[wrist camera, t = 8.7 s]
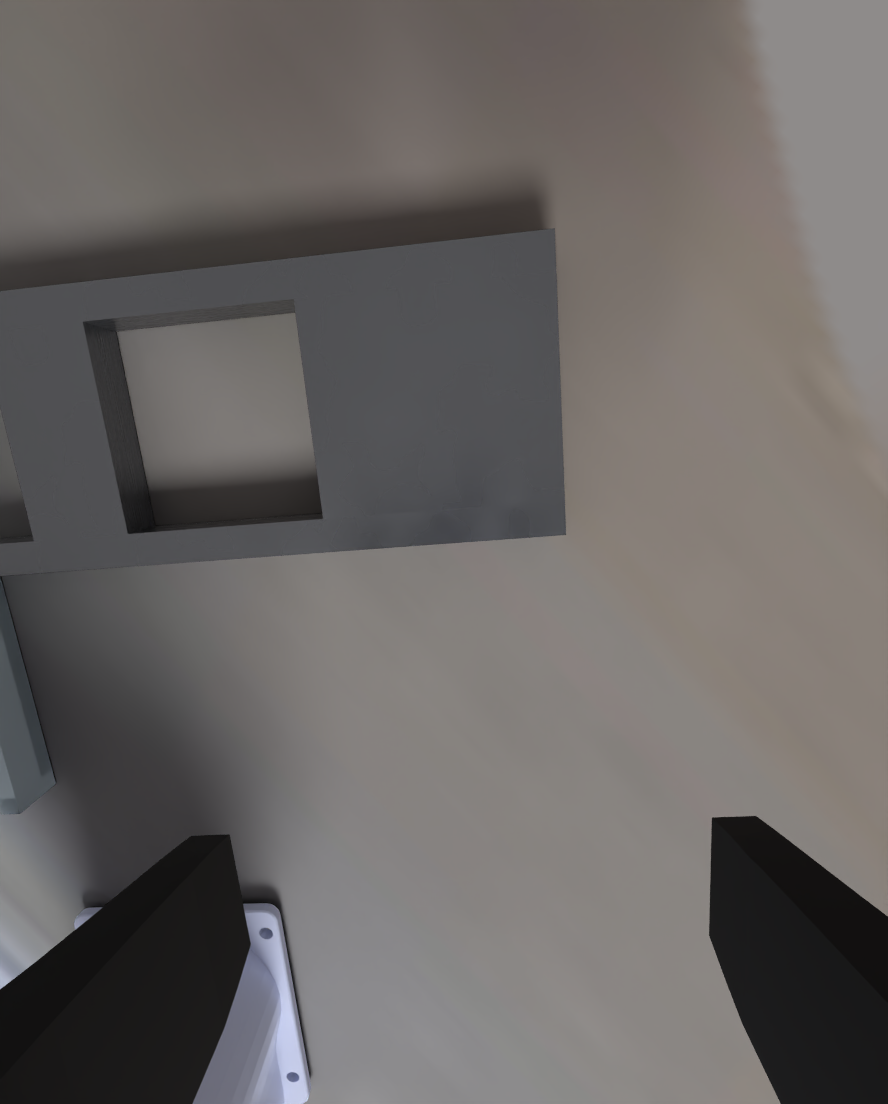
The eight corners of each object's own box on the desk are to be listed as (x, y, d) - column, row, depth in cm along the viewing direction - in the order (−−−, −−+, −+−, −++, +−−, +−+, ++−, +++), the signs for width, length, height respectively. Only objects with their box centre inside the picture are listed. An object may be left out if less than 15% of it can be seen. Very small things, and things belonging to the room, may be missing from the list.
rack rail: (558, 526, 17) (565, 534, 15) (-198, 582, 18) (-251, 594, 17) (547, 247, 15) (554, 228, 14) (-282, 338, 17) (-350, 330, 15)
